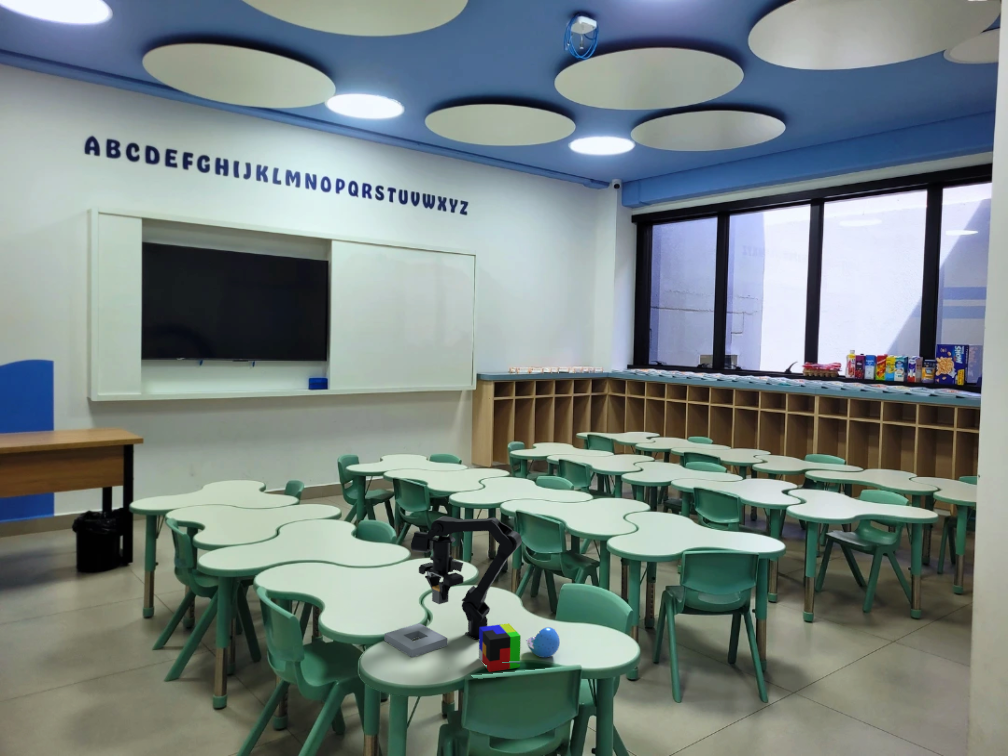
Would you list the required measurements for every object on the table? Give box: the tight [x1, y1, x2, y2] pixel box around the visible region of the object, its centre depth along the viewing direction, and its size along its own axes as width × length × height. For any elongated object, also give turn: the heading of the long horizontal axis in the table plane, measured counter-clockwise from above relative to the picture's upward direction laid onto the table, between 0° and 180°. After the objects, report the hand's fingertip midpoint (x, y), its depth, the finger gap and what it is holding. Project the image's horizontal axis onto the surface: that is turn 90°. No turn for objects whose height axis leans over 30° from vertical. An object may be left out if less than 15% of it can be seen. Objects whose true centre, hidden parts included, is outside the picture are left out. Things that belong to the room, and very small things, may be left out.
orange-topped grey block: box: [431, 585, 449, 605], centre depth 243 cm, size 4×4×5 cm
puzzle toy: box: [478, 622, 522, 673], centre depth 219 cm, size 10×10×10 cm
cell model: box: [525, 626, 560, 658], centre depth 225 cm, size 10×12×10 cm
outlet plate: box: [383, 622, 448, 658], centre depth 232 cm, size 16×14×2 cm
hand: (440, 598), depth 243 cm, fingers closed on orange-topped grey block, 4 cm apart
